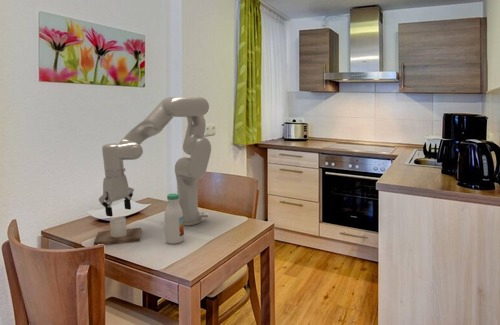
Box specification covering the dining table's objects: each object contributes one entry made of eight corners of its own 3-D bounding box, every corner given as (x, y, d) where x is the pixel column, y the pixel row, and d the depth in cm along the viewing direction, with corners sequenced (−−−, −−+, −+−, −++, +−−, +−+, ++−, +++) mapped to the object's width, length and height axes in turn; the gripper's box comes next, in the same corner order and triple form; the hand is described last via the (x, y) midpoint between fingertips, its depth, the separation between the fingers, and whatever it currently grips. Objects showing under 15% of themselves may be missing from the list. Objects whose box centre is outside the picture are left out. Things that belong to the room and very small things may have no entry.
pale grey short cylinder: (119, 231, 155) (118, 215, 154) (129, 233, 152) (128, 218, 151) (108, 235, 149) (106, 219, 148) (118, 238, 146) (116, 222, 145)
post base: (141, 230, 159) (140, 217, 158) (140, 241, 147) (139, 226, 146) (98, 234, 154) (97, 220, 153) (93, 246, 142) (92, 230, 141)
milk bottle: (175, 245, 142) (173, 197, 139) (161, 242, 146) (159, 195, 143) (188, 239, 148) (186, 193, 145) (174, 236, 152) (172, 191, 149)
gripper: (124, 168, 155) (128, 205, 159) (90, 177, 141) (95, 217, 144) (137, 169, 152) (140, 207, 155) (103, 178, 137) (107, 220, 140)
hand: (119, 212), depth 149 cm, fingers open, 9 cm apart
